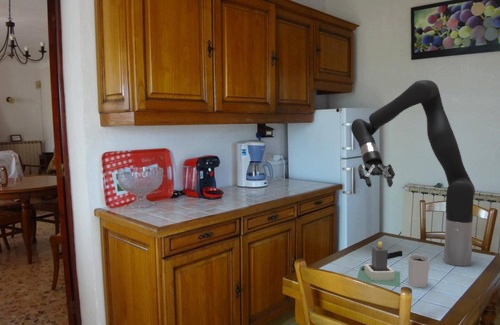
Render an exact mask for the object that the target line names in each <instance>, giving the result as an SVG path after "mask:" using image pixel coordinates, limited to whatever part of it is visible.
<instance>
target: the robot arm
mask: <svg viewBox="0 0 500 325" xmlns="http://www.w3.org/2000/svg"><path fill="white" fill-rule="evenodd" d="M419 104H421V106H422V109H423V112H424V113H425V117H426V131H427V132H426V134H427V139H428V141H429V144H430V147H431V150H432V151H433V155H434V156H435V158H436V160H437V161H438V162H439V164H440V166H441V167H442V169H443V171H444V174H445V177H446V181H447V185H448V186H447V188H446V196H445V227H444V228H445V233H444V248H443V249H444V250H443V261H444V263H446V264H449V265H452V266H456V267H468V266H469V267H471V266H472V252H473V241H472V236H473V219H474V213H473V211H474V196H475V194H476V188H475V185H474V183H473V182H472V180H471V178H470V176H469V174H468V172H467V170H466V168H465V165H464V163H463V158H462V154H461V151H460V148H459V144H458V142H457V139H456V137H455V134H454V131H453V129H452V126H451V124H450V121H449V118H448V116H447V113H446V111H445V108H444V105H443V101H442V97H441V93H440V89H439V87H438V85H437V83H435V82H434V81H432V80H430V79H419V80H416V81H415V82H414V83H412V84H411V85H409V87H408V88H406V89H405V90H404V91H403V92H402V93H401V94H399V95H398V96H397V97H396V98H394V99H392V100H391V101H390V102H389V103H386V104H385V105H383V106H382V107H380V108H378V109H377V110H375V111H374V112H372V113H371V114H370V115H369V116H368V120H369V121H366V120H364V119H361V118H356V119H354V120H353V121H352V123H351V126H350V130H351V133H352V135H353V137H354V138H355V140H356V141H357V143H358V146H359V150H360V154H361V158H362V162H363V164H361V163H360V164H359V165H358V168H357V171H358V176H359V179H360V180H362V179H363V180H364V181H365V184H366V186H367V187H368V188H372V181H371V176H372V177H373V176H374V177H375V176H379V177H380V176H381V177H382V178H384V179H385V180H386V183H387V186H388V188H392V186H393V184H394V181H393V180H394V178H395V176H396V174H395V171H394V169H393V166H392V165H391V163H390V164H388V165H384V163H383V159H382V157H381V153H380V150H379V147H378V146H377V143H376V140H375V138H374V137H373V135H374V134H375V133H376V132H377V131H378V130H379V128H381V127H382V126H384V125H386V124H387V123H388V124H389V123H390V122H391V121H392V120H394V119H396V117H398V116H399V115H400V113H403V112H404V111H406V110H408V109H409V108H412V107H414V106H416V105H419ZM364 170H365V171H366V172H367V173H366V174H365V172H364Z"/></svg>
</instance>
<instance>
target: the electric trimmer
mask: <svg viewBox="0 0 500 325" xmlns="http://www.w3.org/2000/svg"><path fill="white" fill-rule="evenodd" d="M403 254H404V253H403V251H402V250H398V251H393V252H388V256H387V260H391V259H394V258H398V257H403Z"/></svg>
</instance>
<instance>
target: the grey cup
mask: <svg viewBox="0 0 500 325" xmlns="http://www.w3.org/2000/svg"><path fill="white" fill-rule="evenodd" d="M407 260H408V261H407V262H408V263H407V264H408V266H407V267H408V270H407V271H408V272H407V273H408V277H407V278H408V284H409V285H410V286H413V287H415V288H426V287H428V282H429V281H428V280H429V273H430V272H429V271H430V261H431V259H430V258H429V257H427V256H425V255H422V254H410V255H408V259H407Z"/></svg>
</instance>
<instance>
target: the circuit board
mask: <svg viewBox="0 0 500 325" xmlns="http://www.w3.org/2000/svg"><path fill="white" fill-rule="evenodd" d="M364 270H365V265H362V266H360V267H359V270H358V273H357V274H358V275H357V277H356V280H357V279H360V280H363V281H366V282H365V283H371V284H375V285H376V284H378V285H384V286H391V287H398V288H400V287H401V271H395V270H393V271H394V280H391V281H374V280H371V279H370V278H369V277H368V276H367V275H366V274H365V273H364ZM363 281H362V282H363Z"/></svg>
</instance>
